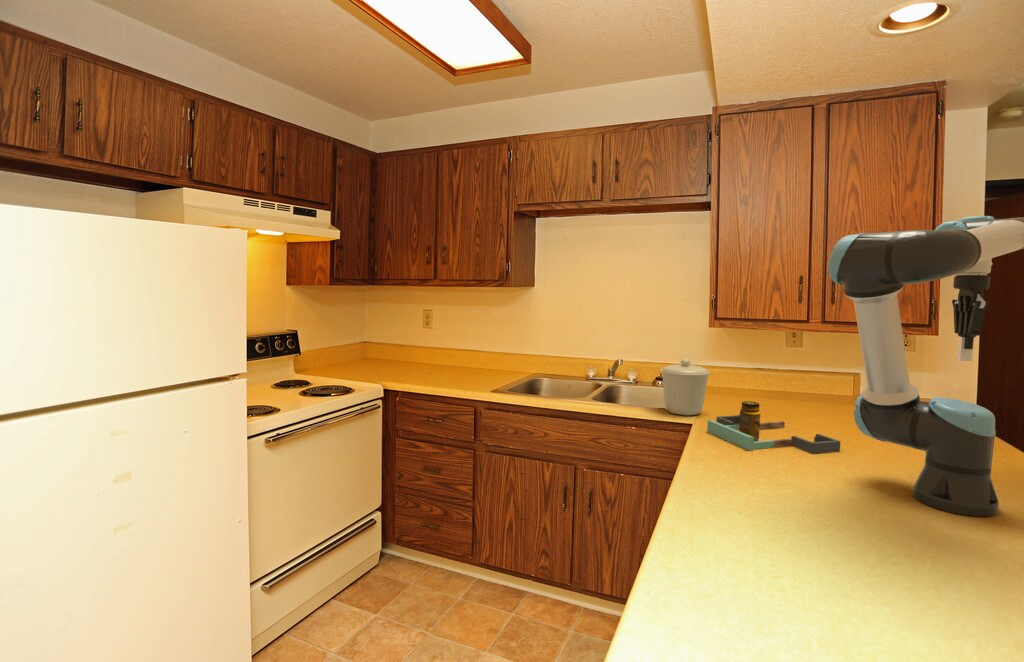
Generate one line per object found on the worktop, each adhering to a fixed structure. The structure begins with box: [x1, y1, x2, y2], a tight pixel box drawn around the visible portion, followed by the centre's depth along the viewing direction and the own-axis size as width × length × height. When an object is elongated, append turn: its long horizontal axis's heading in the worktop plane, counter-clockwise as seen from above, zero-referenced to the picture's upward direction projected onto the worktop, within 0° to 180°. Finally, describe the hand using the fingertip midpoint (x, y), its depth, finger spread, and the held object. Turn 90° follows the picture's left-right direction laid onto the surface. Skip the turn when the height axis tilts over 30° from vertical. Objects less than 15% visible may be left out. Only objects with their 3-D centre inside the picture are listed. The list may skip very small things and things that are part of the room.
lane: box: [759, 420, 817, 448], centre depth 175 cm, size 20×19×2 cm
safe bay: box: [706, 419, 774, 451], centre depth 171 cm, size 10×20×4 cm, turn 15°
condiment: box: [738, 400, 765, 442], centre depth 172 cm, size 7×8×12 cm
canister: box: [660, 358, 711, 416], centre depth 206 cm, size 18×18×21 cm
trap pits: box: [715, 414, 841, 454], centre depth 175 cm, size 18×34×3 cm, turn 15°
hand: (964, 360), depth 147 cm, fingers closed
